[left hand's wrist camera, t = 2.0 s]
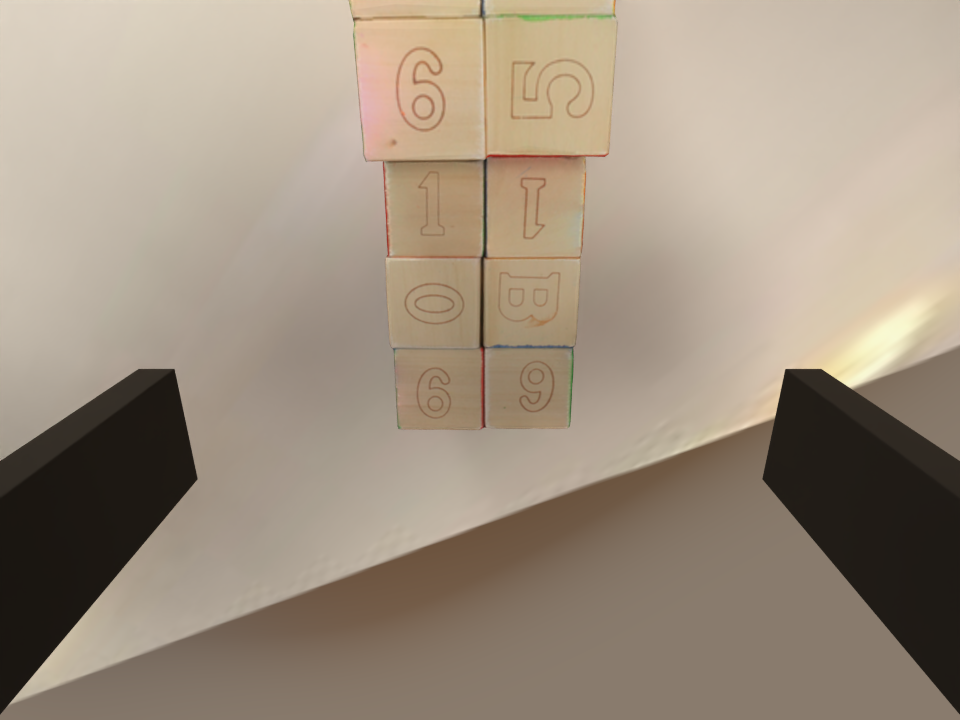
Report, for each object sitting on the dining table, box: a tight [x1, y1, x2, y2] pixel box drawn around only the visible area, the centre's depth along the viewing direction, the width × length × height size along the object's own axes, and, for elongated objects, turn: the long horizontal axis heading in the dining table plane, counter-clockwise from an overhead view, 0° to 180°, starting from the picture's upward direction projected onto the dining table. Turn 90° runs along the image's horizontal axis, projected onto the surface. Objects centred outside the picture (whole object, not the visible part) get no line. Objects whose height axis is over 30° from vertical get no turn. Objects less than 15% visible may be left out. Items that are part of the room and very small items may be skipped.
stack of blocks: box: [349, 0, 618, 430], centre depth 19 cm, size 21×6×12 cm, turn 0°
